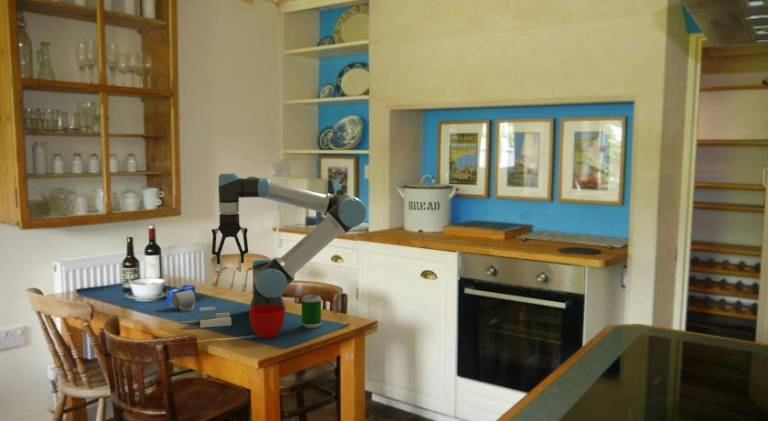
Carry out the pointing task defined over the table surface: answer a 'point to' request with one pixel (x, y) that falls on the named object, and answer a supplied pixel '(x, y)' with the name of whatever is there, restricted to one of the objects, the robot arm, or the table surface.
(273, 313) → the ceramic cup
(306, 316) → the soda can
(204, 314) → the block
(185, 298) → the ceramic mug
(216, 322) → the chute
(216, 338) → the table surface
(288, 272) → the robot arm
